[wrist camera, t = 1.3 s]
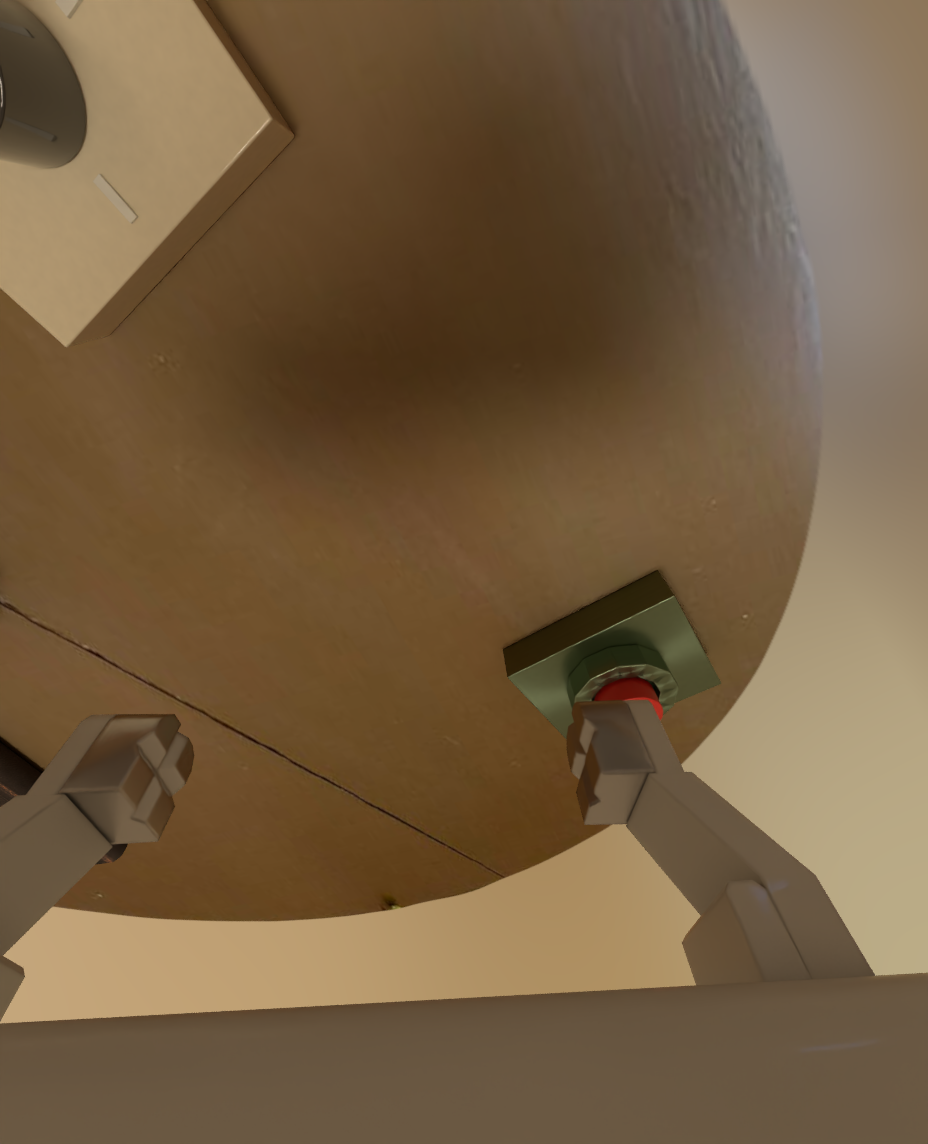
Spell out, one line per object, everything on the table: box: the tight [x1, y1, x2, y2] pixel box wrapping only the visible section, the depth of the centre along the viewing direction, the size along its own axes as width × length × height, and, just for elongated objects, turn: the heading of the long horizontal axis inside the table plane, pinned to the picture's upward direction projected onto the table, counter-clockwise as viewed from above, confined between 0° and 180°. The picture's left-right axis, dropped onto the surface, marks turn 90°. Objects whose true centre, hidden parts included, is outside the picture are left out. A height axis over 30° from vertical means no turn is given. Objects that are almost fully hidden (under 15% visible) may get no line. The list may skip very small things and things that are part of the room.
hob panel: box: [0, 0, 294, 347], centre depth 16 cm, size 12×10×3 cm
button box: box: [503, 571, 721, 739], centre depth 33 cm, size 12×10×4 cm
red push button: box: [594, 677, 663, 720], centre depth 31 cm, size 4×4×2 cm
